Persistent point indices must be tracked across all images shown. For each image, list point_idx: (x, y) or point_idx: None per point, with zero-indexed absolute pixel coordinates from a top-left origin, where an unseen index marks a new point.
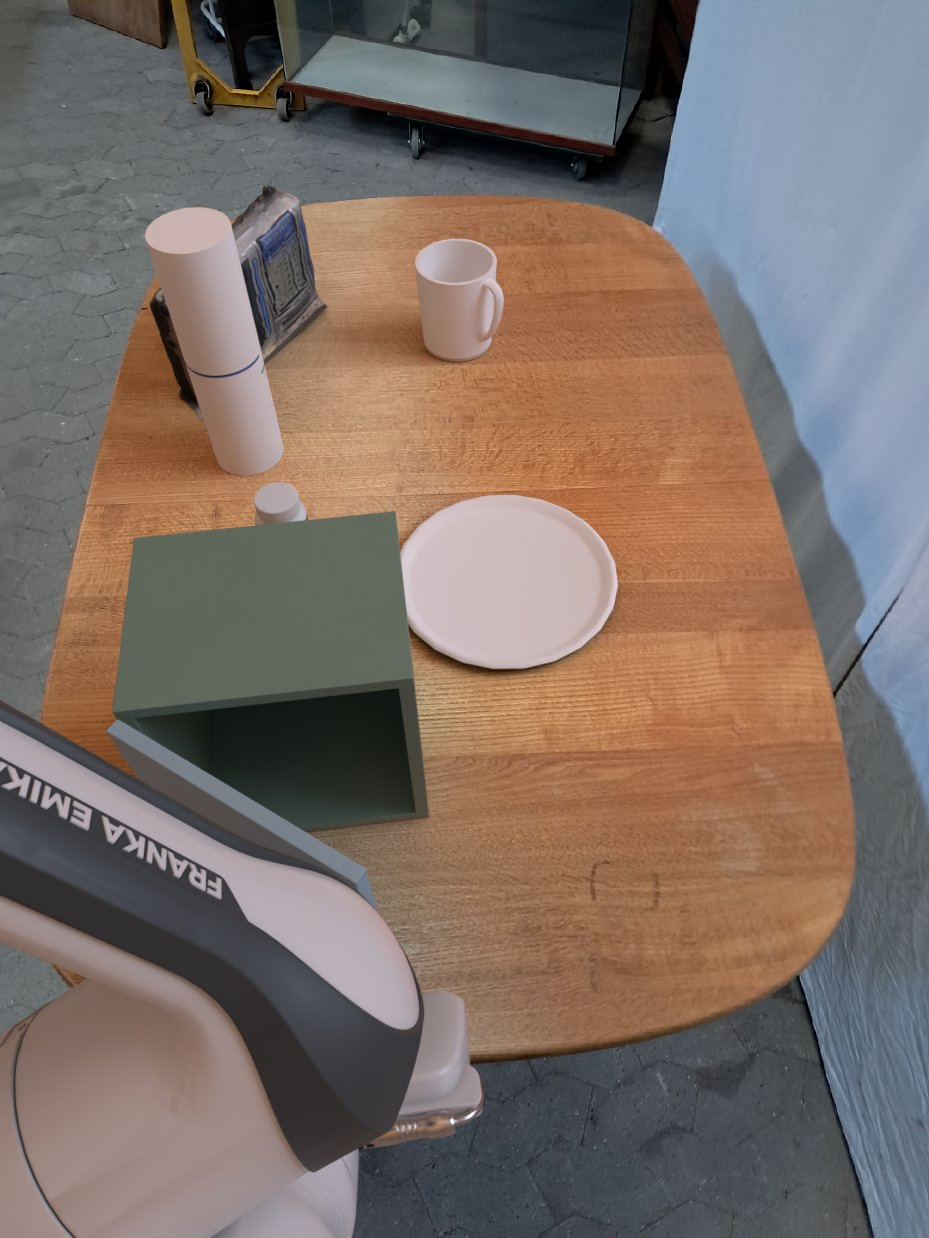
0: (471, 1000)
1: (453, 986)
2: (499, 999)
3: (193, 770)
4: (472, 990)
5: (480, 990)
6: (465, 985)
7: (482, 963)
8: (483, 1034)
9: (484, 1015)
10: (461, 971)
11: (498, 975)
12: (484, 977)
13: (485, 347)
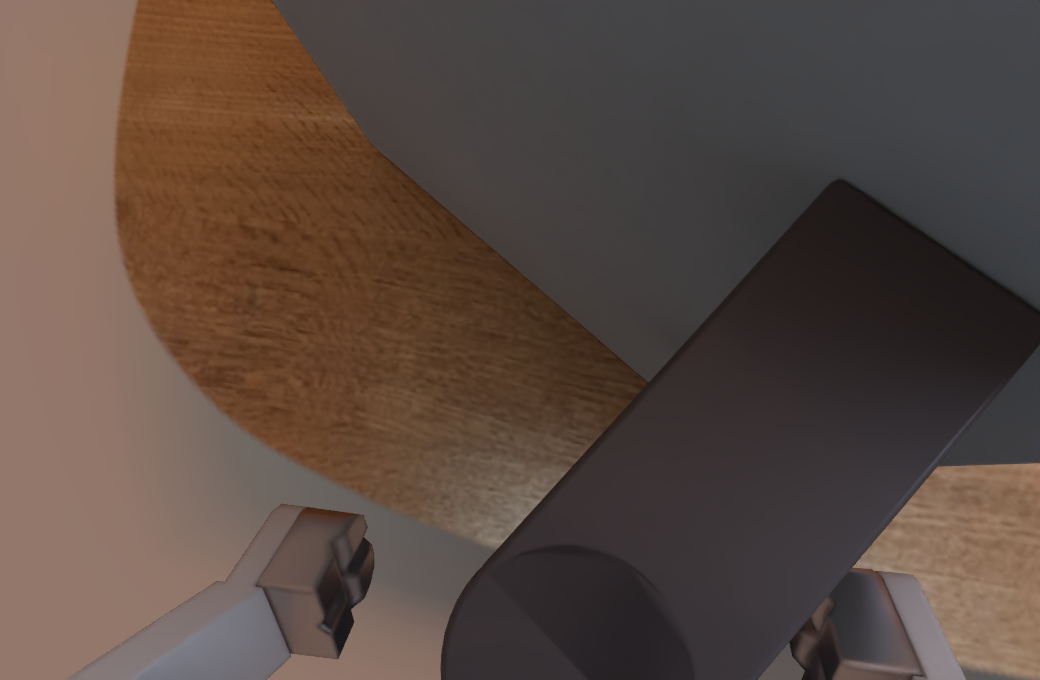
0: (957, 549)
1: (912, 507)
2: (1032, 564)
3: None
4: (961, 527)
5: (982, 531)
6: (944, 511)
7: (992, 469)
8: (984, 637)
9: (989, 593)
10: (936, 477)
11: (1033, 506)
12: (995, 503)
13: None
